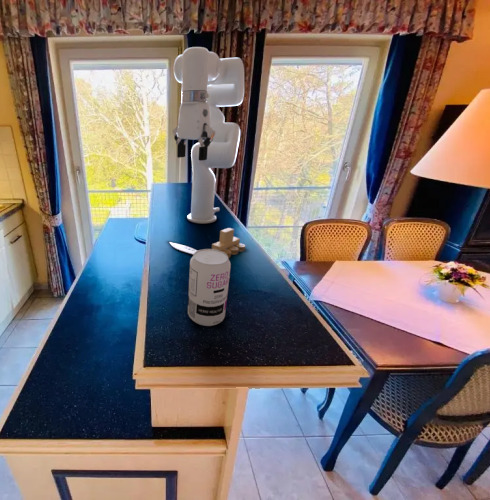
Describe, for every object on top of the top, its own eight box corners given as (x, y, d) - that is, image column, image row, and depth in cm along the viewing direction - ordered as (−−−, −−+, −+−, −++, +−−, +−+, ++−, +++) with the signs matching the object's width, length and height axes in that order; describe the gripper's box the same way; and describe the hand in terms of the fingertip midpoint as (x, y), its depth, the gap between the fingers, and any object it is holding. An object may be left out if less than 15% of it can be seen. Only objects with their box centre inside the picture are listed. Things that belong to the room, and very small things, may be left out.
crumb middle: (232, 249, 94) (232, 245, 93) (240, 252, 92) (240, 248, 91) (226, 252, 92) (226, 248, 91) (234, 255, 90) (234, 251, 89)
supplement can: (199, 300, 68) (203, 244, 62) (231, 314, 63) (238, 254, 57) (180, 317, 62) (182, 257, 56) (212, 333, 58) (218, 270, 51)
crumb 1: (225, 252, 92) (225, 248, 91) (232, 256, 89) (233, 251, 89) (218, 255, 90) (218, 251, 89) (226, 259, 88) (226, 254, 87)
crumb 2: (238, 246, 96) (239, 242, 95) (246, 249, 94) (247, 245, 93) (233, 249, 94) (233, 245, 94) (241, 252, 92) (241, 248, 91)
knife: (168, 239, 100) (188, 236, 102) (168, 244, 100) (188, 241, 102) (205, 279, 73) (231, 274, 75) (204, 284, 74) (231, 279, 76)
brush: (231, 244, 98) (233, 225, 95) (239, 246, 96) (241, 227, 93) (211, 252, 92) (212, 232, 89) (219, 255, 90) (220, 235, 87)
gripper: (225, 97, 79) (220, 160, 87) (183, 100, 91) (181, 155, 99) (207, 96, 75) (203, 162, 82) (165, 99, 87) (165, 157, 94)
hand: (191, 158), depth 90 cm, fingers open, 9 cm apart
